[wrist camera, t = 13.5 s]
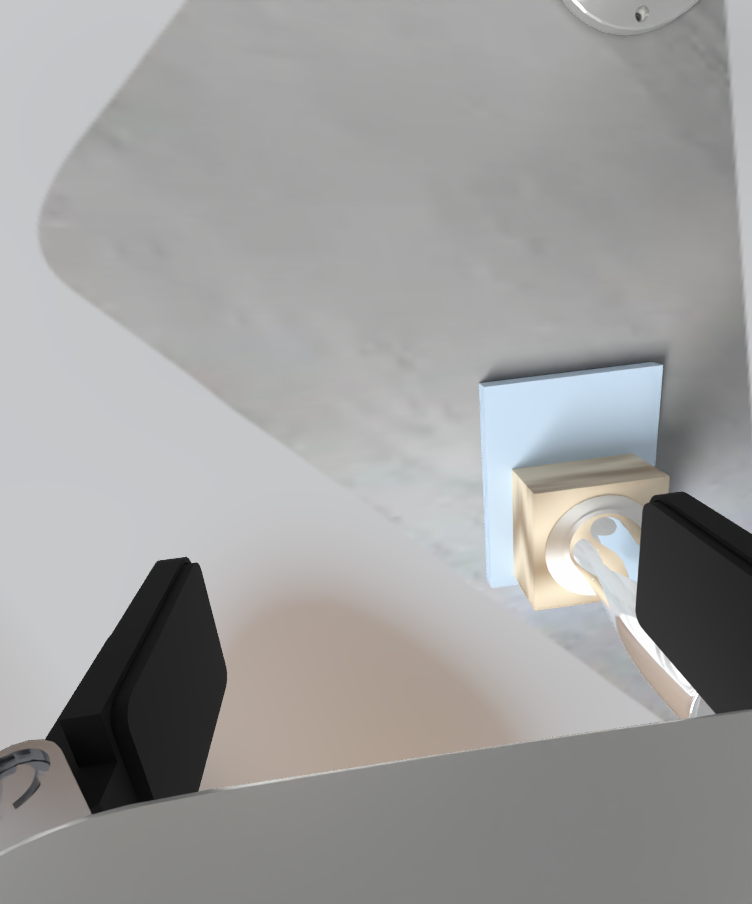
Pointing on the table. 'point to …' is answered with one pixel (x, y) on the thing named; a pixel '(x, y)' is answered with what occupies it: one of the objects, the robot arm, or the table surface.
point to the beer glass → (626, 599)
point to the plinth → (570, 518)
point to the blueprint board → (559, 435)
